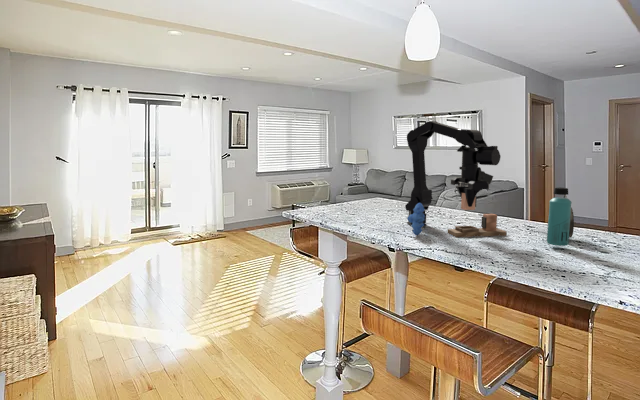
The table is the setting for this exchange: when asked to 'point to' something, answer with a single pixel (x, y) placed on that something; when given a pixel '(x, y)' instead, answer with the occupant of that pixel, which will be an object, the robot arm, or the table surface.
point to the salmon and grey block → (465, 205)
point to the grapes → (417, 219)
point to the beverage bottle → (559, 219)
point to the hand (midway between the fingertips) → (467, 205)
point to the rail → (487, 228)
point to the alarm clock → (571, 221)
